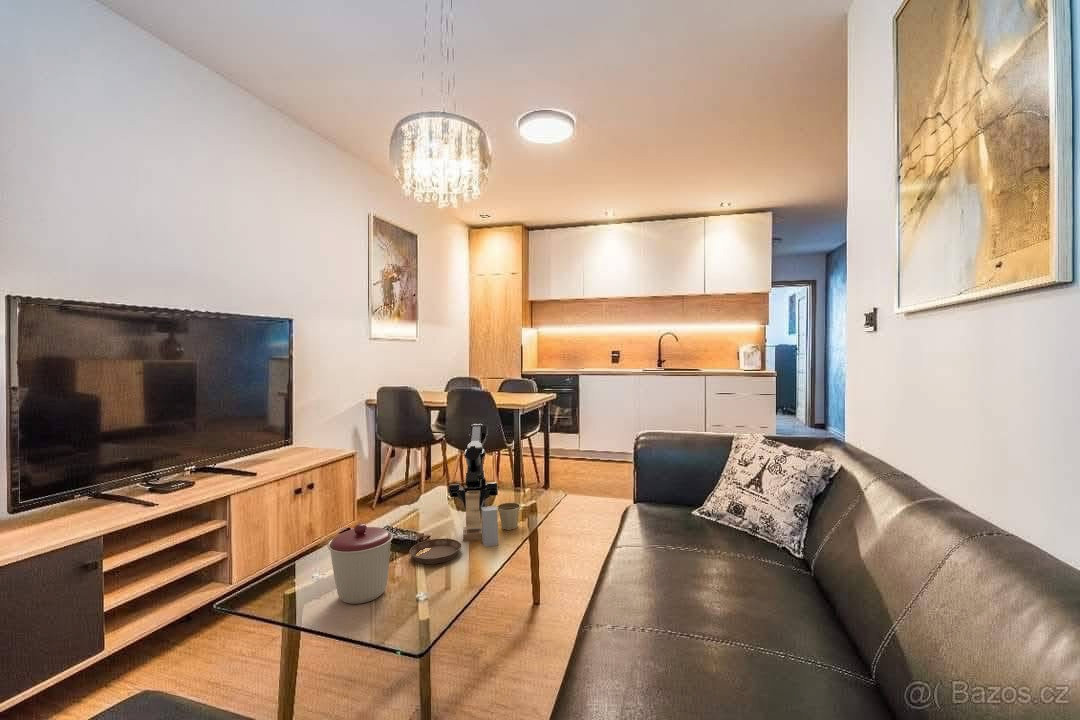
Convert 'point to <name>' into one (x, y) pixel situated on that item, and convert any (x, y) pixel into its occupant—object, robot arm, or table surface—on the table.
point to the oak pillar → (472, 510)
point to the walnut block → (472, 534)
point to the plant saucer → (436, 550)
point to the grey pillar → (489, 526)
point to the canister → (361, 563)
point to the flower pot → (509, 515)
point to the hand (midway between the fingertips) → (472, 510)
